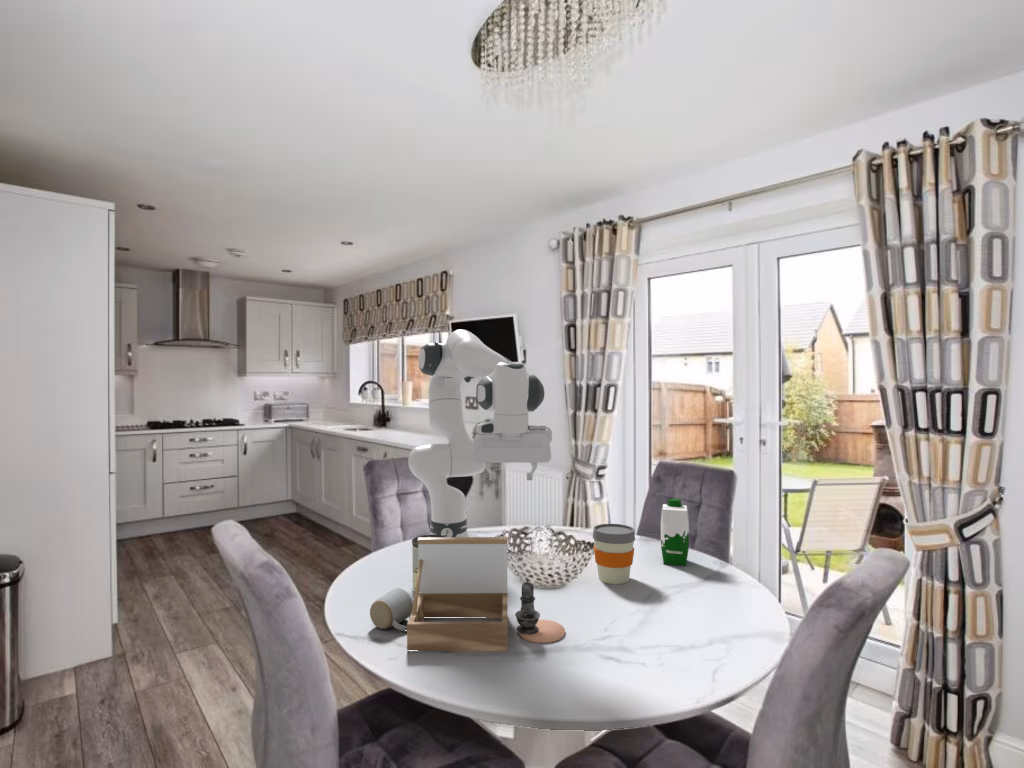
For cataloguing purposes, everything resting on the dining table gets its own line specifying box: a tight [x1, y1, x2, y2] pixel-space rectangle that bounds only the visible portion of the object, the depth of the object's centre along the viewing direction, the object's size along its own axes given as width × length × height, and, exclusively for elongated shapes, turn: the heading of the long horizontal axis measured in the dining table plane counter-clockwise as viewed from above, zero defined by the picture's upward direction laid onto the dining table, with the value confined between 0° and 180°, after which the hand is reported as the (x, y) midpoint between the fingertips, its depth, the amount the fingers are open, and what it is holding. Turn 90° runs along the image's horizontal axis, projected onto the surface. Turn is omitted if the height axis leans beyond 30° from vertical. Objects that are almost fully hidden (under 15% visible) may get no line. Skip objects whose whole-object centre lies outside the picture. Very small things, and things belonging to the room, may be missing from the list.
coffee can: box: [411, 534, 446, 592], centre depth 157 cm, size 10×10×14 cm
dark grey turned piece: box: [514, 578, 541, 635], centre depth 129 cm, size 6×6×12 cm
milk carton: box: [660, 497, 690, 567], centre depth 180 cm, size 9×9×20 cm
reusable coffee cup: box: [592, 523, 636, 585], centre depth 165 cm, size 13×13×15 cm
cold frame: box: [406, 592, 509, 652], centre depth 129 cm, size 18×22×6 cm
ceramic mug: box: [369, 587, 413, 632], centre depth 133 cm, size 11×8×8 cm
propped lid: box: [411, 536, 508, 616], centre depth 132 cm, size 14×22×15 cm, turn 91°
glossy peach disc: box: [517, 619, 566, 644], centre depth 129 cm, size 11×11×1 cm
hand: (511, 480), depth 139 cm, fingers open, 8 cm apart
